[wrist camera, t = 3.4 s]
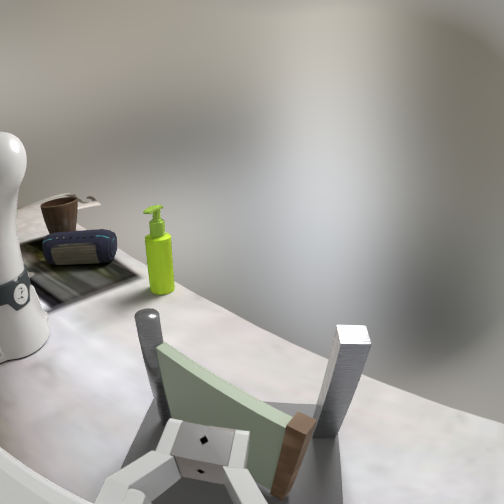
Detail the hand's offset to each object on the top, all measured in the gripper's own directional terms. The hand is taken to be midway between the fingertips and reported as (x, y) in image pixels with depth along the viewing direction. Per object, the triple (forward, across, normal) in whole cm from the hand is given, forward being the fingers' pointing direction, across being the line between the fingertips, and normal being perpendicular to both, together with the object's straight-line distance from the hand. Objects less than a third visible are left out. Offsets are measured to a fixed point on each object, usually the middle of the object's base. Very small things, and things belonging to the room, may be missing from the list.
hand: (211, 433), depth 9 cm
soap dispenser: (+51, -25, -24) cm, 62 cm away
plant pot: (+74, -76, -24) cm, 109 cm away
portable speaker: (+60, -57, -24) cm, 87 cm away
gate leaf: (+10, -2, -22) cm, 25 cm away
